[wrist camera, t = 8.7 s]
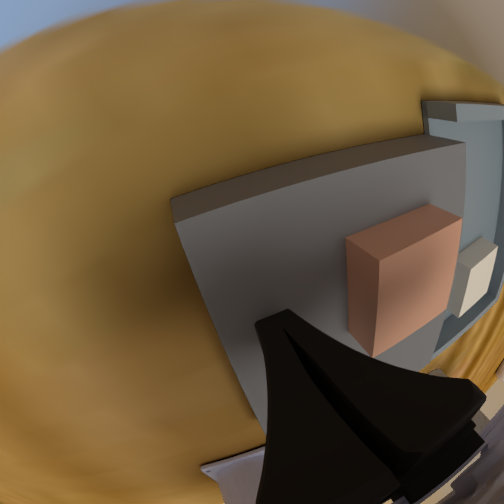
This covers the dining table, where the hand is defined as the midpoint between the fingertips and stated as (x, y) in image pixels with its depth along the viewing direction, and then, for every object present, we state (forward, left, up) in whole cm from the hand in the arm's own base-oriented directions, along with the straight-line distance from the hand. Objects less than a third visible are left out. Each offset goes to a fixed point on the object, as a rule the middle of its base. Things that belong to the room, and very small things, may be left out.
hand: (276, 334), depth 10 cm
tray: (-3, -18, -4) cm, 19 cm away
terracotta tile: (0, -6, -1) cm, 6 cm away
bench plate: (-4, -5, -4) cm, 7 cm away
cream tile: (-7, -18, -1) cm, 19 cm away
